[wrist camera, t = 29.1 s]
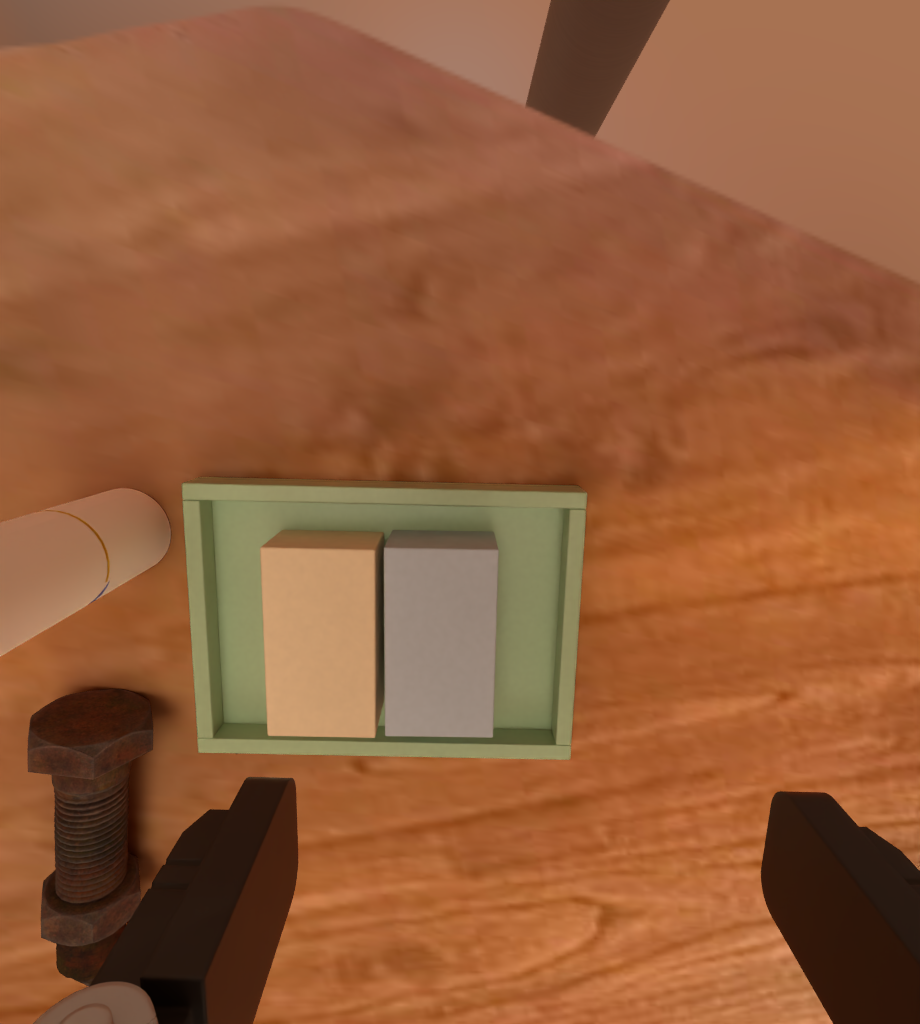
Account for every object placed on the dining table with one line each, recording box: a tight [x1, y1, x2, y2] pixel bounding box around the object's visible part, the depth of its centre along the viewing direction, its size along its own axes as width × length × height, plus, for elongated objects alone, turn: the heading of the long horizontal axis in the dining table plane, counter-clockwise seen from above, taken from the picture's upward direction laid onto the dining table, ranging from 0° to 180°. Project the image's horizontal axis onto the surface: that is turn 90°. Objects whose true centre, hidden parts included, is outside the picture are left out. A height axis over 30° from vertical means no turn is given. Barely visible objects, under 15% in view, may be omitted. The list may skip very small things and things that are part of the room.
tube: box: [0, 488, 171, 656], centre depth 24 cm, size 4×4×15 cm
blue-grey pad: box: [384, 530, 499, 738], centre depth 30 cm, size 9×5×4 cm, turn 179°
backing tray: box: [182, 477, 587, 760], centre depth 31 cm, size 14×19×2 cm
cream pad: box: [260, 530, 384, 738], centre depth 30 cm, size 9×5×4 cm, turn 179°
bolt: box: [28, 689, 153, 986], centre depth 32 cm, size 6×5×15 cm
